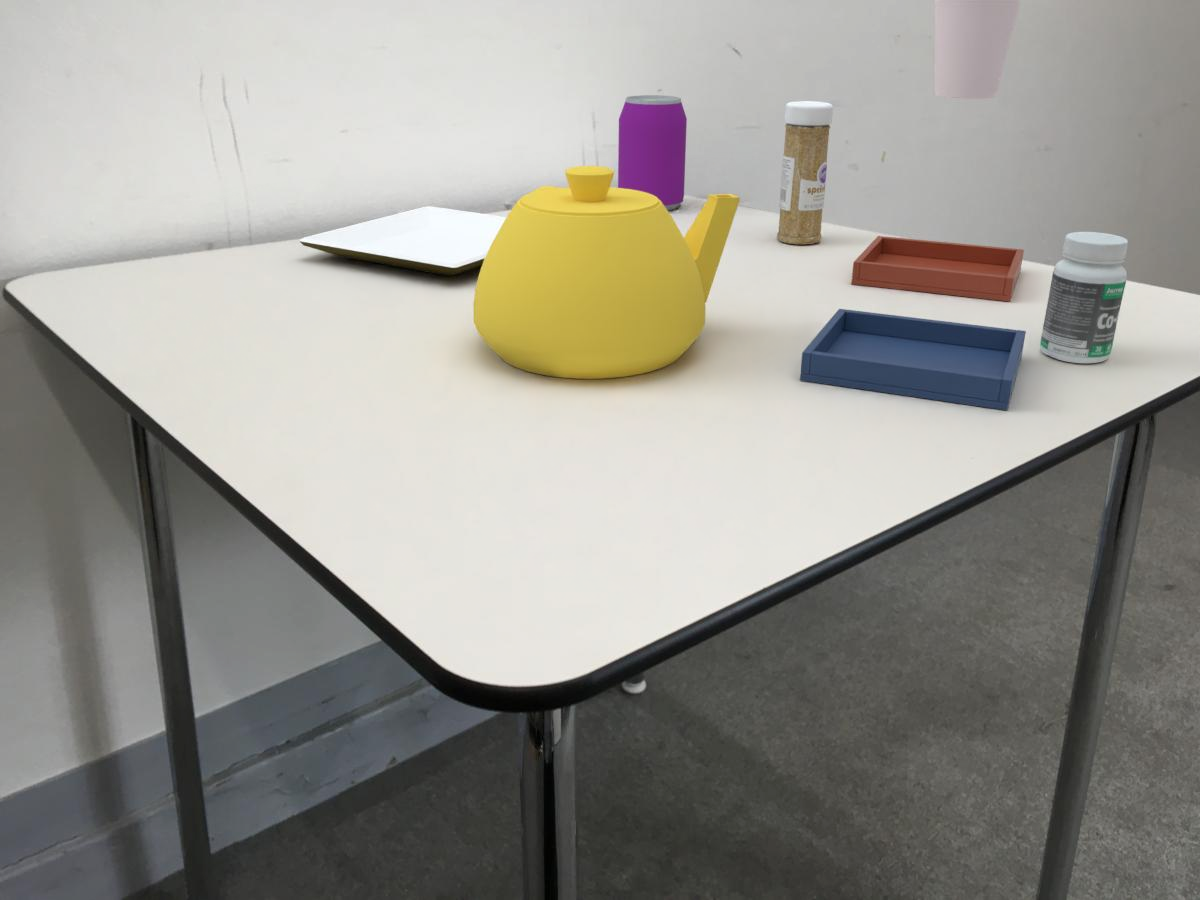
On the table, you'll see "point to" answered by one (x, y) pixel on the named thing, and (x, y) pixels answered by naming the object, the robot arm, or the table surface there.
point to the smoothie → (972, 46)
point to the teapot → (598, 279)
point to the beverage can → (653, 147)
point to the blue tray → (916, 358)
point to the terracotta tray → (939, 268)
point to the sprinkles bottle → (804, 171)
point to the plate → (416, 240)
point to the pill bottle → (1085, 298)
